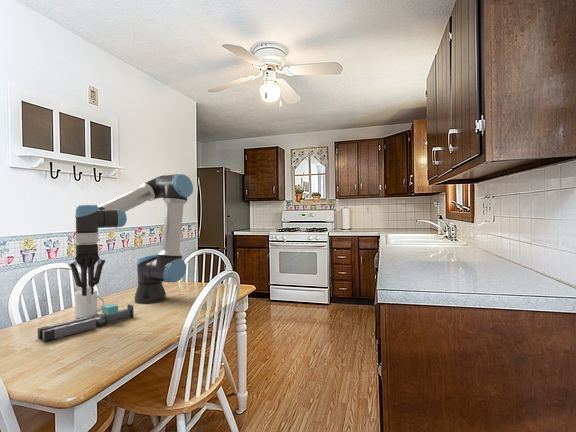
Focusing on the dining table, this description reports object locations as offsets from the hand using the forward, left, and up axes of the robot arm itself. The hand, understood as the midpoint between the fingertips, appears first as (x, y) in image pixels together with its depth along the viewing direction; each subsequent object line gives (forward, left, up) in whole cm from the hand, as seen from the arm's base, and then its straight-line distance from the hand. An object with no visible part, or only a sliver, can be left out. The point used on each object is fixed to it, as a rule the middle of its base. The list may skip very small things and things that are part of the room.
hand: (87, 303), depth 134 cm
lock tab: (-8, 0, -6) cm, 10 cm away
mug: (-7, -17, -10) cm, 21 cm away
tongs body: (-1, -1, -10) cm, 10 cm away
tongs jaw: (+7, +2, -10) cm, 12 cm away
